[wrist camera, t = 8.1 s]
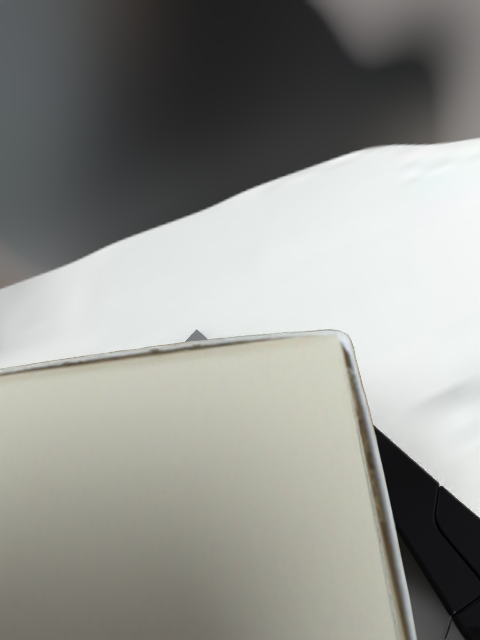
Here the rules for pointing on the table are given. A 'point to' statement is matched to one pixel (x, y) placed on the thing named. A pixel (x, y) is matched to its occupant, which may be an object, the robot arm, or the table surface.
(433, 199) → the table surface
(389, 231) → the table surface
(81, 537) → the skincare box
